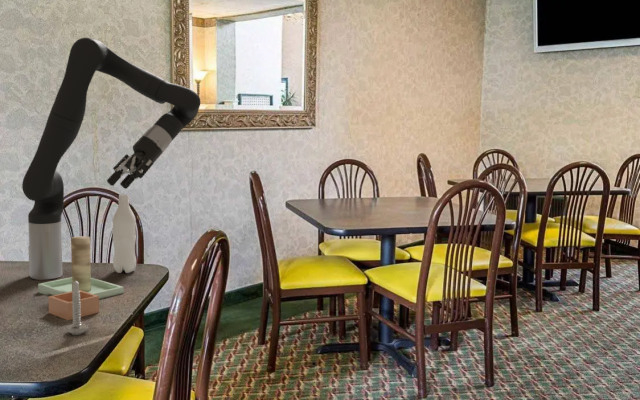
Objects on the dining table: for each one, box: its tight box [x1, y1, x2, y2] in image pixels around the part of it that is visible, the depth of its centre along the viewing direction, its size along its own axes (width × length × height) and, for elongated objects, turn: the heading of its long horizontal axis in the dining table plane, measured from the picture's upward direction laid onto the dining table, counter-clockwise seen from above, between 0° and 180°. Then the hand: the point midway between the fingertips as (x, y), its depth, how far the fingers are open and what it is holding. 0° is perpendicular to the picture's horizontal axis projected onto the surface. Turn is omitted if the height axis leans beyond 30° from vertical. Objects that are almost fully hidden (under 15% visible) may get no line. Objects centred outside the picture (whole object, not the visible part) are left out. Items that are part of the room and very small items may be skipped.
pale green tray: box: [37, 276, 125, 300], centre depth 178 cm, size 20×14×2 cm
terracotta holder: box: [47, 290, 100, 321], centre depth 159 cm, size 9×9×5 cm
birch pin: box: [70, 235, 92, 292], centre depth 178 cm, size 5×5×15 cm
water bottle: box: [111, 193, 137, 274], centre depth 204 cm, size 7×7×25 cm
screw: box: [64, 281, 89, 336], centre depth 144 cm, size 13×5×5 cm
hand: (116, 185), depth 179 cm, fingers open, 8 cm apart
